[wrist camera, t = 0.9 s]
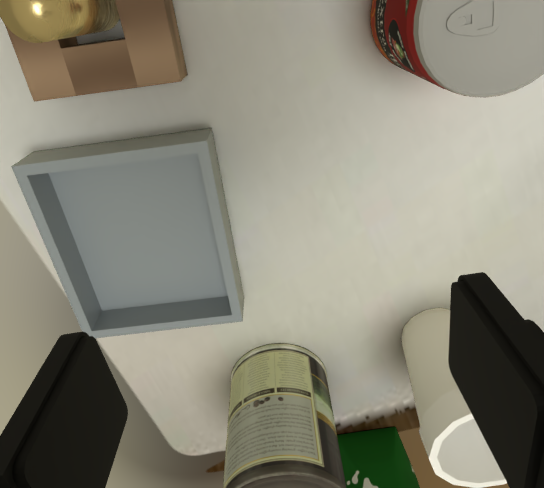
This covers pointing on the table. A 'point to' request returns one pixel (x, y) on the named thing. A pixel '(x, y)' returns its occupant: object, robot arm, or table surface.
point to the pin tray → (137, 232)
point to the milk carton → (375, 460)
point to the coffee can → (281, 422)
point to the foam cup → (445, 406)
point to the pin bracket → (107, 55)
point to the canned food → (463, 42)
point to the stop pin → (57, 18)
